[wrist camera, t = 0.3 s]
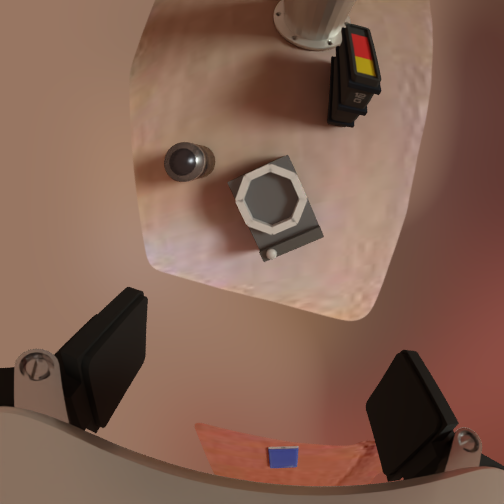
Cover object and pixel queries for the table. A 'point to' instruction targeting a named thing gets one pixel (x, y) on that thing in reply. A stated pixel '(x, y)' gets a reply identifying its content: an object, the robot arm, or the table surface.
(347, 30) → the black device
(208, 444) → the table surface
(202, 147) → the lens
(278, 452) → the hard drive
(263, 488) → the robot arm
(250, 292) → the table surface
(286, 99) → the table surface
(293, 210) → the camera body
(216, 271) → the table surface
